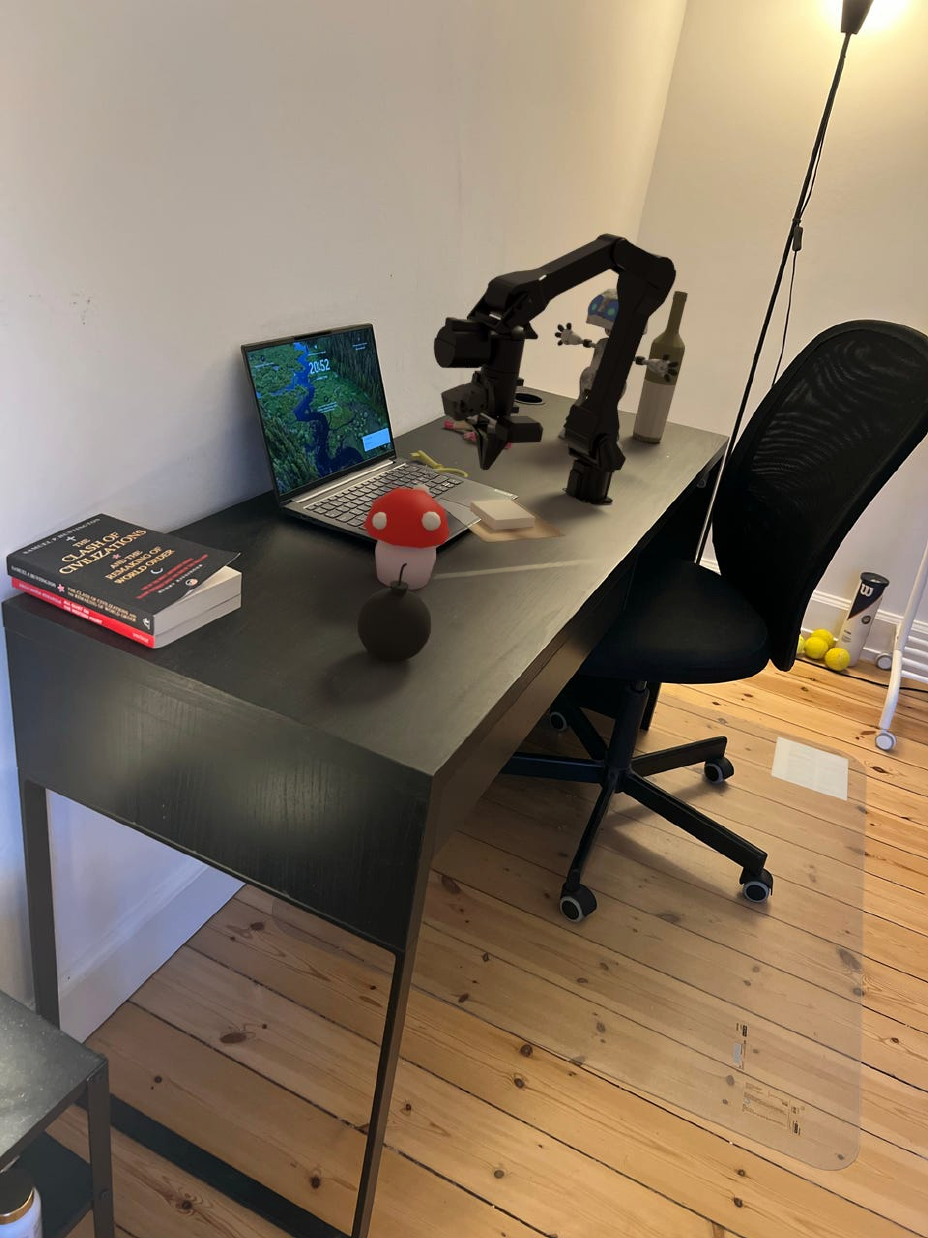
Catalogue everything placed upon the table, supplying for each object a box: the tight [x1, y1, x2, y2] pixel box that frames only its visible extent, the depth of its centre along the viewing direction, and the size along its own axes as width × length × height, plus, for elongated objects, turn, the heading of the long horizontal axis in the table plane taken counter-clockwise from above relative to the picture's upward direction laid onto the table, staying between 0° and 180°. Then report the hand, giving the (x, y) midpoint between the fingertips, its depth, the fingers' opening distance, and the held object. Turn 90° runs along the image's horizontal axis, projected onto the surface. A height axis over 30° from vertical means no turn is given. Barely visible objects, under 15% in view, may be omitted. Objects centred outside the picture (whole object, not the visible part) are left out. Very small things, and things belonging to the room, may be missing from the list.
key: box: [409, 450, 468, 478], centre depth 161 cm, size 7×12×2 cm, turn 52°
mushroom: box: [363, 483, 451, 591], centre depth 119 cm, size 11×11×12 cm
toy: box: [443, 420, 513, 449], centre depth 182 cm, size 7×6×15 cm
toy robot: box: [554, 287, 679, 452], centre depth 185 cm, size 31×12×30 cm, turn 42°
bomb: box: [356, 563, 432, 663], centre depth 100 cm, size 8×8×12 cm
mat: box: [468, 497, 567, 543], centre depth 144 cm, size 14×16×1 cm
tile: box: [469, 499, 535, 530], centre depth 143 cm, size 7×2×8 cm
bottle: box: [632, 290, 689, 443], centre depth 194 cm, size 7×7×30 cm
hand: (484, 469), depth 146 cm, fingers closed
